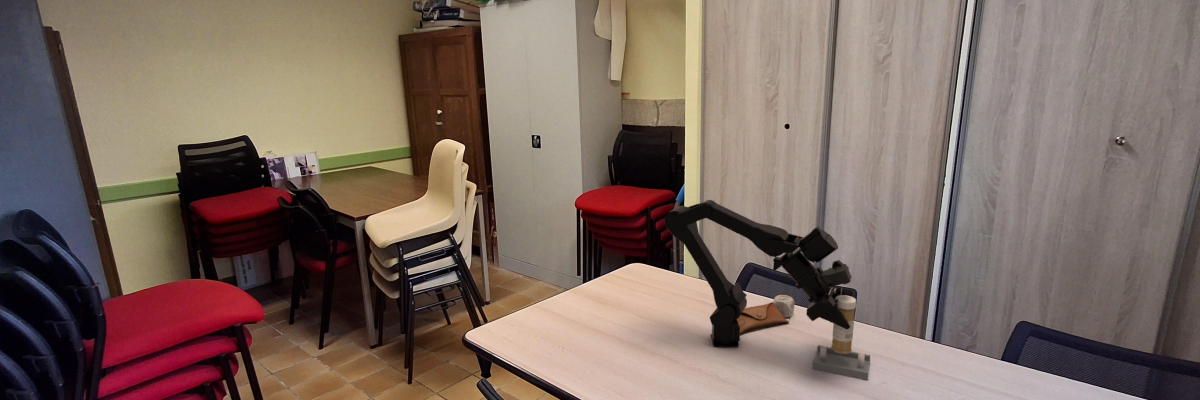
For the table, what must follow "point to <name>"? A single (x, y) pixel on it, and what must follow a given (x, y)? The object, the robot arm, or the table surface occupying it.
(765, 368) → the table surface
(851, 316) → the sprinkles bottle
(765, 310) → the sunglasses case
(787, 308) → the die
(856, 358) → the tray
